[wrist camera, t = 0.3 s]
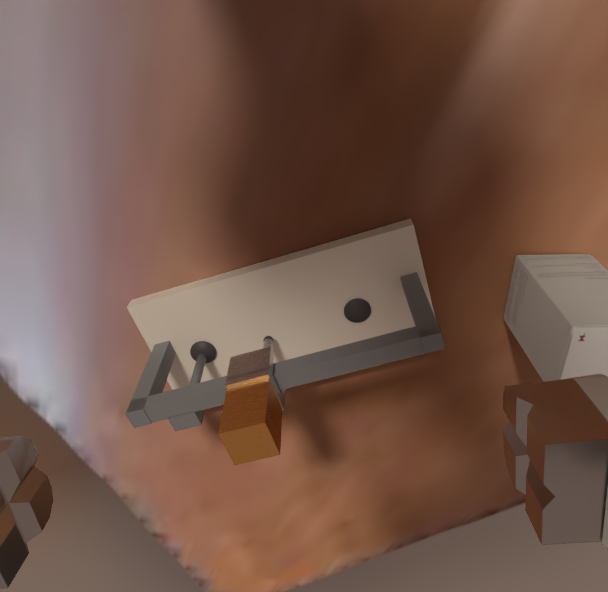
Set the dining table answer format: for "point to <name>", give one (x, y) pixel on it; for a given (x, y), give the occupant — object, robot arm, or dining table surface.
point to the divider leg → (252, 407)
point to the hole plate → (285, 321)
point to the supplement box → (560, 314)
